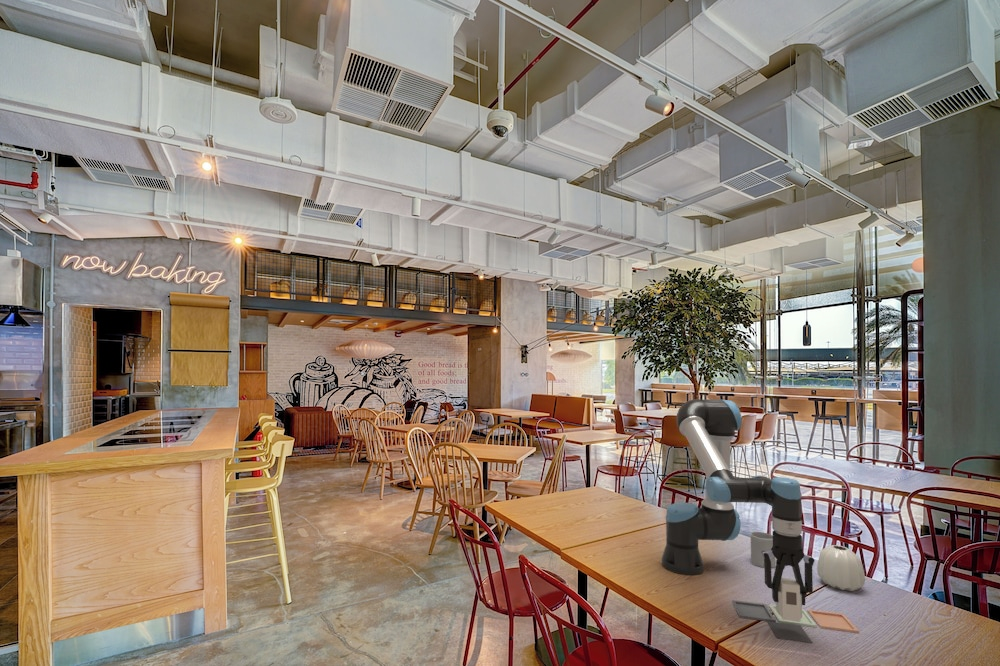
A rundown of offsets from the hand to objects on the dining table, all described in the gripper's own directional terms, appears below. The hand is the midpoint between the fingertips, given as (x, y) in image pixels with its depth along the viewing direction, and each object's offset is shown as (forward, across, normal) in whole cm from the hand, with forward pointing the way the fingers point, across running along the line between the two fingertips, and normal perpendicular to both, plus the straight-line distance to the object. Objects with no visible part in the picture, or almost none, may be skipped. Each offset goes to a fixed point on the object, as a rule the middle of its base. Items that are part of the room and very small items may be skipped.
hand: (789, 614), depth 139 cm
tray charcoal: (+5, -7, +10) cm, 13 cm away
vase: (+6, +29, +40) cm, 50 cm away
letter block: (+1, 0, 0) cm, 1 cm away
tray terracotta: (+5, +15, +10) cm, 19 cm away
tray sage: (+5, +4, +10) cm, 12 cm away
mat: (+5, 0, 0) cm, 5 cm away
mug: (+5, +9, +55) cm, 56 cm away
